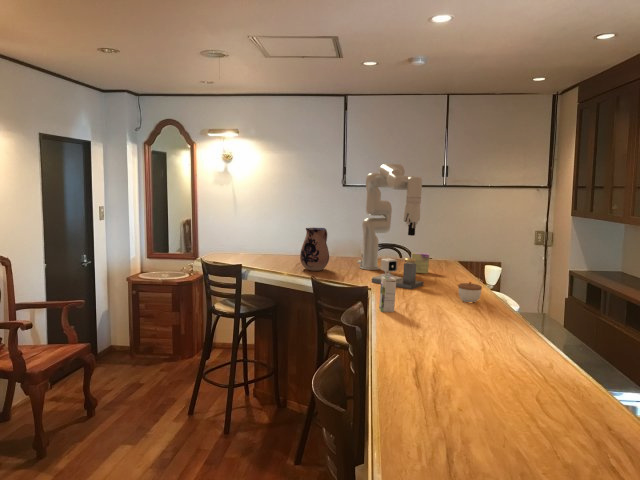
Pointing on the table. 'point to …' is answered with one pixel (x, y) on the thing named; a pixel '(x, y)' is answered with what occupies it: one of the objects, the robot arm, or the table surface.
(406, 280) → the press base
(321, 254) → the ceramic pitcher
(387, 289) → the syrup box
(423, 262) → the box
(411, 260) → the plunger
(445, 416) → the table surface
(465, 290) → the lidded jar
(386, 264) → the security camera
